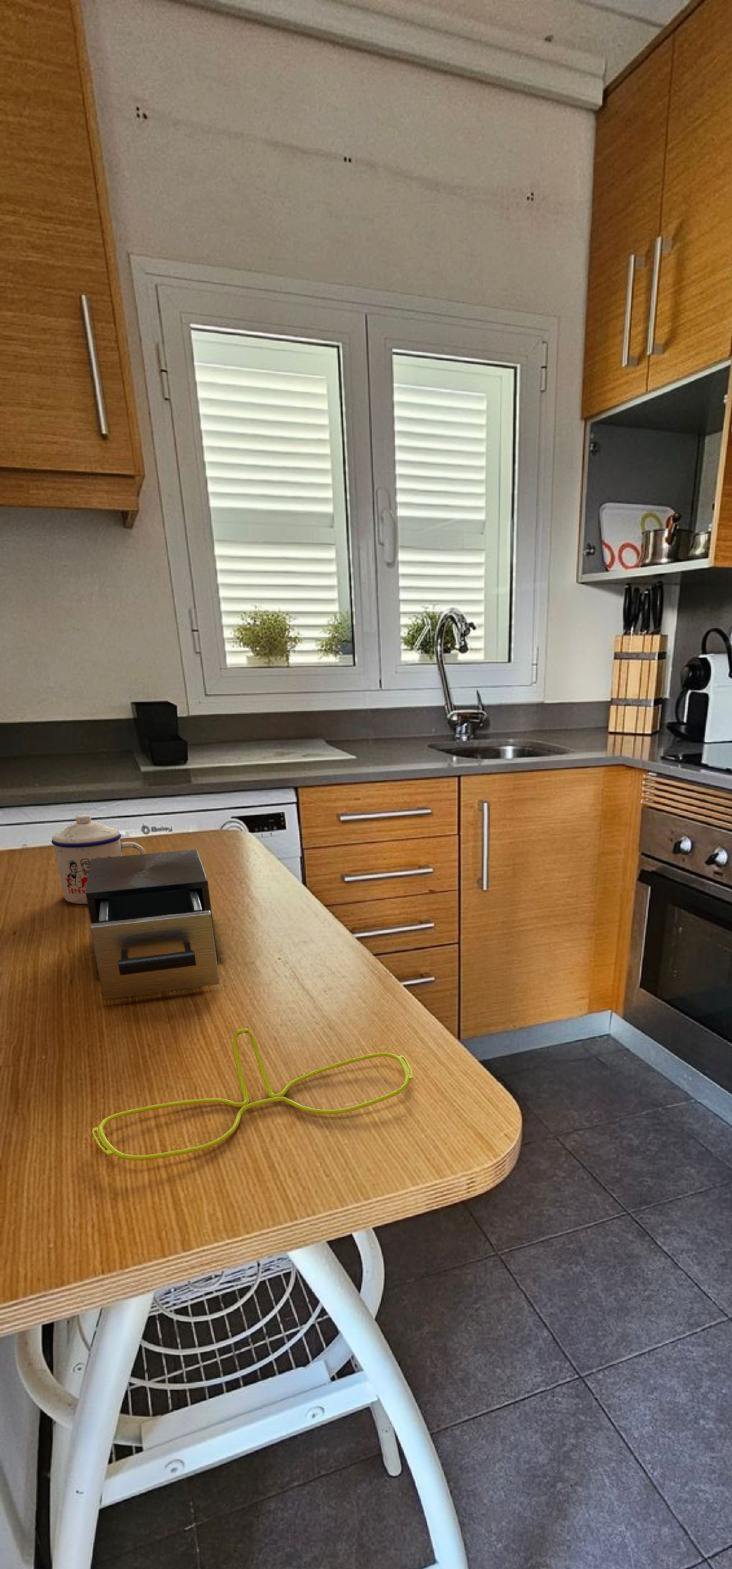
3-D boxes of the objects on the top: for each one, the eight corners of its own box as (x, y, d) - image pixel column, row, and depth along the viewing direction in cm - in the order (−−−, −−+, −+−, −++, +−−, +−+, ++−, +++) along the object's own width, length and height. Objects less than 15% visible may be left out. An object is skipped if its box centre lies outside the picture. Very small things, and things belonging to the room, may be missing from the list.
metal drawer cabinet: (217, 961, 97) (207, 880, 93) (100, 976, 93) (85, 893, 89) (206, 920, 110) (197, 849, 107) (103, 932, 106) (90, 858, 103)
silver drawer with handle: (224, 1000, 84) (215, 927, 81) (102, 1018, 80) (88, 942, 77) (207, 940, 101) (199, 877, 98) (106, 952, 97) (94, 887, 94)
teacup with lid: (62, 908, 116) (46, 824, 111) (62, 891, 123) (47, 812, 119) (153, 897, 120) (141, 816, 116) (148, 881, 128) (136, 805, 123)
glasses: (101, 1183, 58) (89, 1123, 56) (89, 1115, 66) (78, 1061, 64) (430, 1096, 68) (428, 1043, 66) (384, 1047, 76) (382, 999, 74)
